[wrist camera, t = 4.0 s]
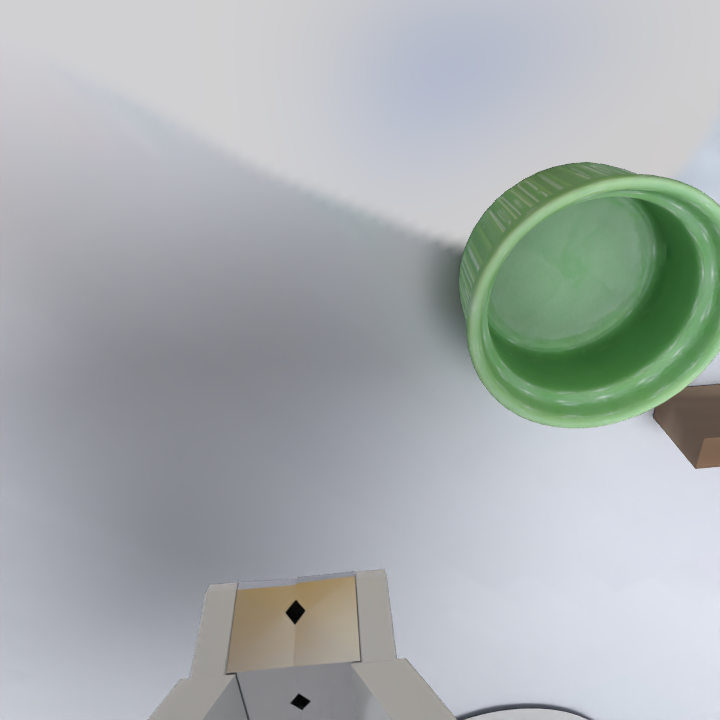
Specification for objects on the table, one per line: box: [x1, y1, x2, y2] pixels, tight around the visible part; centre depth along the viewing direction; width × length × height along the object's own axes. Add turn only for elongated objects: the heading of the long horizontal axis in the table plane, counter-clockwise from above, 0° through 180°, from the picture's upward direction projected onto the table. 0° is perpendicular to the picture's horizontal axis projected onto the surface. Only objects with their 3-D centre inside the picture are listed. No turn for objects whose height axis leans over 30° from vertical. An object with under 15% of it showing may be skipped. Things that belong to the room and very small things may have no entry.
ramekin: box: [459, 162, 720, 428], centre depth 21 cm, size 9×9×4 cm
